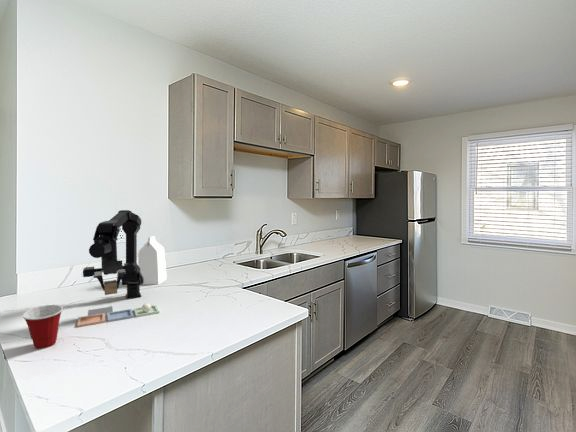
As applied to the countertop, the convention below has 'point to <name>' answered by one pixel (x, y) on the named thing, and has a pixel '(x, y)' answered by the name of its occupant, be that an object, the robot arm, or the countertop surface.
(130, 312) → the dish slate
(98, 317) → the dish terracotta
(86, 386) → the countertop surface
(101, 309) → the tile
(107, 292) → the letter cube
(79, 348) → the countertop surface
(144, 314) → the dish sage
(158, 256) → the milk
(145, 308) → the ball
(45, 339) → the plastic cup
